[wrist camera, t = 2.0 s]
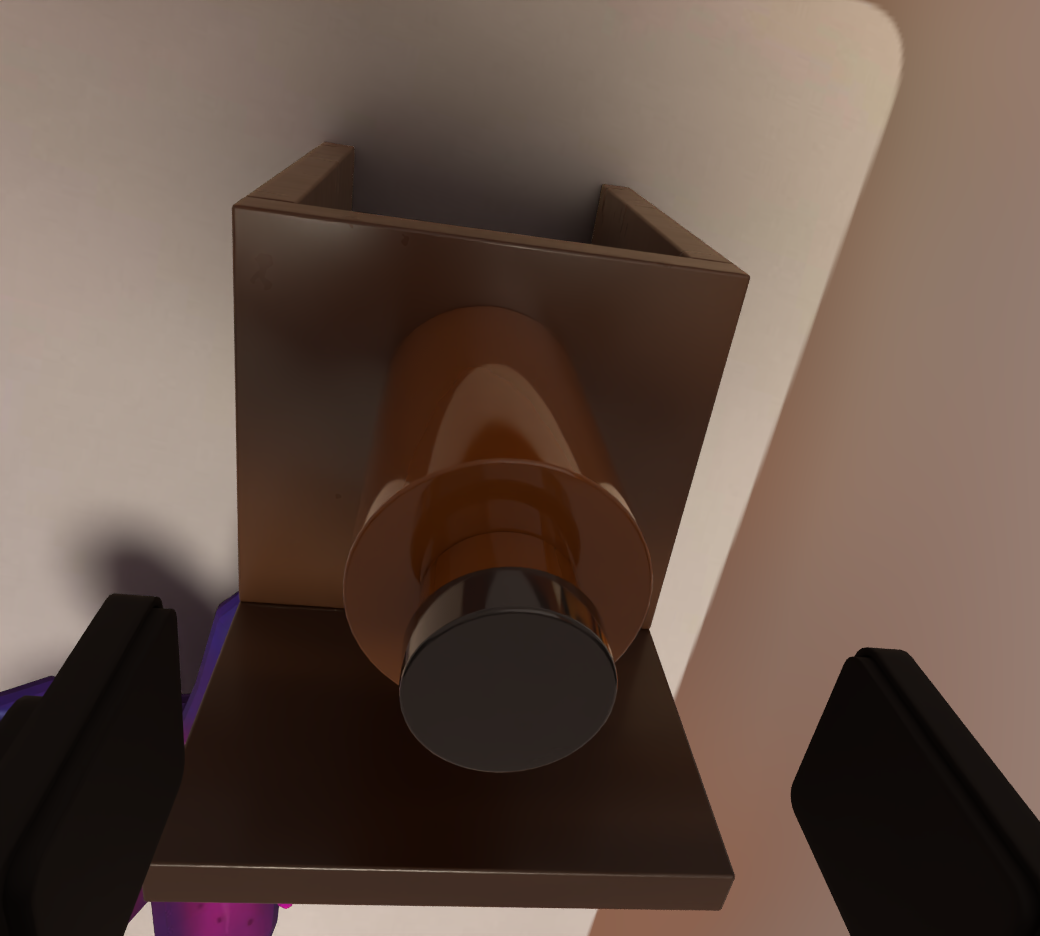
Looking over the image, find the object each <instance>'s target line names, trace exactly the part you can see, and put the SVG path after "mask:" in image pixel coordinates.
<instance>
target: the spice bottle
mask: <svg viewBox="0 0 1040 936" xmlns="http://www.w3.org/2000/svg"><path fill="white" fill-rule="evenodd" d="M652 583H653V571H652V563H651V556H650V553H649V549H648V546H647V542H646V540H645V537H644V535H643V532H642V530H641V527H640V525H639V523H638V520H637V518H636V515H635V513H634V510H633V508H632V505H631V503H630V500H629V498H628V495H627V493H626V491H625V488H624V486H623V483H622V481H621V478H620V476H619V473H618V471H617V468H616V466H615V463H614V461H613V458H612V456H611V454H610V451H609V449H608V446H607V444H606V441H605V439H604V436H603V434H602V431H601V429H600V426H599V424H598V422H597V419H596V417H595V414H594V412H593V409H592V407H591V404H590V402H589V399H588V397H587V394H586V392H585V390H584V387H583V385H582V382H581V380H580V377H579V375H578V372H577V370H576V367H575V365H574V363H573V361H572V359H571V356H570V355H569V353H568V352H567V350H566V348H565V347H564V345H563V344H562V343H561V342H560V341H559V339H558V338H557V337H556V336H555V335H554V334H553V333H552V332H551V331H549V330H548V329H547V328H546V327H545V326H543V325H542V324H540V323H539V322H537V321H536V320H534V319H532V318H530V317H528V316H526V315H524V314H522V313H519V312H516V311H513V310H510V309H506V308H500V307H495V306H470V307H463V308H458V309H454V310H451V311H448V312H445V313H442V314H439V315H437V316H435V317H433V318H431V319H429V320H428V321H426V322H425V323H423V324H422V325H420V326H419V327H417V328H416V329H415V330H414V331H413V332H411V333H410V334H409V335H408V336H407V337H406V338H405V339H404V341H403V342H402V343H401V344H400V345H399V346H398V348H397V350H396V351H395V353H394V354H393V356H392V357H391V360H390V362H389V364H388V366H387V368H386V371H385V375H384V378H383V382H382V387H381V392H380V397H379V402H378V407H377V412H376V417H375V421H374V426H373V431H372V436H371V441H370V446H369V451H368V456H367V461H366V466H365V471H364V476H363V481H362V486H361V490H360V495H359V500H358V505H357V510H356V515H355V520H354V525H353V530H352V535H351V540H350V545H349V550H348V555H347V560H346V564H345V570H344V578H343V603H344V609H345V614H346V618H347V621H348V624H349V626H350V629H351V632H352V634H353V636H354V638H355V639H356V641H357V643H358V645H359V647H360V649H361V650H362V651H363V653H364V654H365V655H366V656H367V658H368V659H369V660H370V662H371V663H372V664H373V665H374V666H375V667H376V668H377V669H378V670H379V671H380V672H381V673H382V674H384V675H385V676H386V677H387V678H389V679H390V680H391V681H393V682H394V683H395V684H397V685H398V686H399V703H400V709H401V712H402V715H403V718H404V720H405V722H406V724H407V726H408V728H409V729H410V731H411V733H412V734H413V735H414V736H415V738H416V739H417V740H418V741H419V742H420V743H421V744H422V745H423V746H424V747H425V748H426V749H428V750H429V751H430V752H432V753H433V754H434V755H436V756H438V757H440V758H441V759H443V760H445V761H447V762H450V763H452V764H455V765H457V766H460V767H464V768H467V769H472V770H477V771H483V772H494V773H508V772H518V771H525V770H530V769H535V768H539V767H542V766H546V765H549V764H551V763H554V762H556V761H559V760H561V759H563V758H565V757H567V756H569V755H571V754H572V753H574V752H575V751H577V750H578V749H580V748H581V747H583V746H584V745H585V744H586V743H587V742H589V741H590V740H591V739H592V738H593V737H594V736H595V735H596V734H597V733H598V732H599V730H600V729H601V728H602V726H603V725H604V724H605V722H606V721H607V719H608V717H609V715H610V713H611V711H612V708H613V705H614V703H615V700H616V694H617V689H618V676H617V670H616V665H615V662H616V661H617V660H618V659H619V658H620V657H621V656H622V655H623V654H624V653H625V652H626V650H627V649H628V647H629V646H630V645H631V643H632V642H633V640H634V639H635V637H636V636H637V634H638V632H639V630H640V628H641V626H642V624H643V622H644V619H645V616H646V614H647V611H648V608H649V604H650V599H651V594H652Z"/></svg>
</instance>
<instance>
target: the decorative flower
mask: <svg viewBox="0 0 1040 936" xmlns="http://www.w3.org/2000/svg"><path fill="white" fill-rule="evenodd" d="M239 602H240V600H239V591H238V592H237V593H235V594H234V595H232V596H231V597H229V598H228V599H227V600H225V601H224V602H222V603H221V604H219V606H218V609H217V611H216V614H215V618H214V621H213V624H212V628H211V631H210V635H209V638H208V642H207V645H206V648H205V652H204V655H203V659H202V662H201V666H200V669H199V672H198V676H197V679H196V683H195V685H194V687H193V690H192V692H191V694H181V697H182V714H183V730H184V746H185V743H186V740H187V738H188V735H189V732H190V730H191V727H192V725H193V722H194V719H195V717H196V714H197V712H198V709H199V706H200V704H201V701H202V699H203V696H204V693H205V691H206V688H207V685H208V683H209V680H210V678H211V675H212V672H213V670H214V667H215V665H216V662H217V659H218V657H219V654H220V651H221V649H222V646H223V644H224V641H225V638H226V636H227V633H228V631H229V628H230V625H231V623H232V620H233V618H234V615H235V612H236V610H237V607H238V604H239ZM54 678H55V677H54V676H48V677H45V678H42V679H39V680H36V681H33V682H30V683H27V684H24V685H21V686H18V687H15V688H12V689H8V690H5V691H2V692H0V721H1V719H2V718H3V716H4V715H5V714H6V712H7V711H8V709H9V708H10V707H11V706H12V705H13V704H14V702H15V701H16V700H18V699H19V698H21V697H23V696H24V695H29V696H43V695H44V694H45V692H46V691H47V689H48V687H49V686H50V684H51V683H52V681H53V680H54ZM146 903H147V901H144V898H143V889H142V888H141V891H140V893H139V896H138V899H137V901H136V904H135V906H134V909H133V912H132V914H131V917H130V920H129V922H130V921H131V920H132V919H133V917H134V916H135V915H136V914H137V913H138V912H139V911H140V910H141V909H142V908H143V906H144V905H145V904H146ZM151 906H152V915H153V924H154V933H155V936H272V933H273V931H274V928H275V926H276V923H277V919H278V910H279V906H280V907H282V908H285V909H287V908H289V907H291V906H292V904H265V903H201V902H151ZM129 922H128V923H129Z"/></svg>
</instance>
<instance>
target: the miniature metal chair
mask: <svg viewBox="0 0 1040 936" xmlns="http://www.w3.org/2000/svg"><path fill="white" fill-rule="evenodd" d="M354 155H355V148H354V147H353V146H348V145H342V144H335V143H328V142H323V143H322V144H320V145H319V146H318V147H316V148H315V149H313V150H312V151H310V152H309V153H307V154H306V155H305V156H303V157H302V158H300V159H299V160H297V161H296V162H295V163H293V164H292V165H290V166H289V167H287V168H286V169H284V170H283V171H282V172H280V173H279V174H277V175H276V176H274V177H273V178H272V179H270V180H269V181H267V182H266V183H264V184H263V185H261V186H260V187H259V188H257V189H256V190H254V191H253V192H251V193H250V194H249V195H247V196H246V197H244V198H242V199H241V200H240V201H238V202H237V203H235V204H234V205H233V206H232V237H233V292H234V348H235V403H236V459H237V514H238V570H239V600H240V602H239V604H238V607H237V610H236V612H235V615H234V618H233V620H232V623H231V625H230V628H229V631H228V633H227V636H226V638H225V641H224V644H223V646H222V649H221V651H220V654H219V657H218V659H217V662H216V665H215V667H214V670H213V672H212V675H211V678H210V680H209V683H208V685H207V688H206V691H205V693H204V696H203V699H202V701H201V704H200V706H199V709H198V712H197V714H196V717H195V719H194V722H193V725H192V727H191V730H190V732H189V735H188V738H187V740H186V743H185V746H184V747H185V765H184V772H183V777H182V781H181V785H180V788H179V790H178V793H177V796H176V798H175V801H174V804H173V806H172V809H171V811H170V814H169V817H168V819H167V822H166V825H165V827H164V830H163V833H162V835H161V838H160V841H159V843H158V846H157V848H156V851H155V854H154V856H153V859H152V862H151V864H150V867H149V870H148V872H147V875H146V877H145V880H144V883H143V885H142V889H143V898H144V901H147V902H201V903H265V904H329V905H394V906H458V907H522V908H586V909H651V910H714V911H716V910H717V911H718V910H721V909H722V906H723V904H724V902H725V900H726V897H727V895H728V893H729V890H730V888H731V886H732V883H733V881H734V879H735V875H734V872H733V869H732V866H731V863H730V860H729V857H728V855H727V852H726V849H725V846H724V843H723V840H722V837H721V834H720V831H719V829H718V826H717V823H716V820H715V817H714V814H713V811H712V809H711V806H710V803H709V800H708V797H707V795H706V791H705V788H704V786H703V783H702V780H701V777H700V774H699V771H698V768H697V766H696V763H695V760H694V757H693V754H692V751H691V748H690V745H689V743H688V740H687V737H686V734H685V731H684V729H683V725H682V723H681V720H680V717H679V714H678V711H677V708H676V705H675V702H674V700H673V697H672V694H671V691H670V688H669V685H668V682H667V679H666V677H665V674H664V671H663V668H662V665H661V662H660V659H659V657H658V654H657V651H656V648H655V645H654V642H653V639H652V636H651V634H650V631H649V628H650V627H651V623H652V620H653V616H654V613H655V609H656V606H657V602H658V599H659V595H660V592H661V588H662V585H663V581H664V578H665V574H666V571H667V567H668V564H669V560H670V557H671V553H672V550H673V546H674V543H675V539H676V536H677V532H678V529H679V525H680V522H681V518H682V515H683V511H684V508H685V504H686V501H687V497H688V494H689V490H690V487H691V483H692V480H693V476H694V473H695V469H696V466H697V462H698V459H699V455H700V452H701V448H702V445H703V441H704V438H705V434H706V431H707V427H708V424H709V420H710V417H711V413H712V410H713V406H714V403H715V399H716V396H717V392H718V389H719V385H720V382H721V378H722V375H723V371H724V368H725V364H726V361H727V357H728V354H729V350H730V347H731V343H732V340H733V336H734V333H735V329H736V326H737V322H738V319H739V315H740V312H741V308H742V305H743V301H744V298H745V294H746V291H747V287H748V284H749V280H750V276H749V275H748V274H747V273H745V272H744V271H743V270H741V269H740V268H738V267H737V266H736V265H734V264H733V263H731V262H730V261H729V260H727V259H726V258H725V257H723V256H722V255H720V254H719V253H718V252H716V251H715V250H714V249H712V248H711V247H710V246H708V245H707V244H705V243H704V242H703V241H701V240H700V239H699V238H697V237H696V236H695V235H693V234H692V233H690V232H689V231H688V230H686V229H685V228H684V227H682V226H681V225H680V224H678V223H677V222H675V221H674V220H673V219H671V218H670V217H669V216H667V215H666V214H665V213H663V212H662V211H660V210H659V209H658V208H656V207H655V206H654V205H652V204H651V203H650V202H648V201H647V200H645V199H644V198H643V197H641V196H640V195H639V194H637V193H636V192H635V191H633V190H632V189H630V188H627V187H621V186H614V185H608V184H603V185H602V188H601V194H600V199H599V204H598V209H597V215H596V220H595V225H594V231H593V236H592V241H591V244H584V243H577V242H570V241H563V240H556V239H548V238H541V237H534V236H527V235H520V234H512V233H505V232H498V231H491V230H484V229H476V228H469V227H462V226H455V225H448V224H440V223H433V222H426V221H419V220H412V219H404V218H397V217H390V216H383V215H376V214H368V213H361V212H354V211H352V196H353V176H354ZM470 306H495V307H500V308H506V309H510V310H513V311H516V312H519V313H522V314H524V315H526V316H528V317H530V318H532V319H534V320H536V321H537V322H539V323H540V324H542V325H543V326H545V327H546V328H547V329H548V330H549V331H551V332H552V333H553V334H554V335H555V336H556V337H557V338H558V339H559V341H560V342H561V343H562V344H563V345H564V347H565V348H566V350H567V352H568V353H569V355H570V356H571V359H572V361H573V363H574V365H575V367H576V370H577V372H578V375H579V377H580V380H581V382H582V385H583V387H584V390H585V392H586V394H587V397H588V399H589V402H590V404H591V407H592V409H593V412H594V414H595V417H596V419H597V422H598V424H599V426H600V429H601V431H602V434H603V436H604V439H605V441H606V444H607V446H608V449H609V451H610V454H611V456H612V458H613V461H614V463H615V466H616V468H617V471H618V473H619V476H620V478H621V481H622V483H623V486H624V488H625V491H626V493H627V495H628V498H629V500H630V503H631V505H632V508H633V510H634V513H635V515H636V518H637V520H638V523H639V525H640V527H641V530H642V532H643V535H644V537H645V540H646V542H647V546H648V549H649V553H650V556H651V563H652V571H653V583H652V594H651V599H650V604H649V608H648V611H647V614H646V616H645V619H644V622H643V624H642V626H641V628H640V630H639V632H638V634H637V636H636V637H635V639H634V640H633V642H632V643H631V645H630V646H629V647H628V649H627V650H626V652H625V653H624V654H623V655H622V656H621V657H620V658H619V659H618V660H617V661H616V662H615V665H616V670H617V676H618V689H617V694H616V700H615V703H614V705H613V708H612V711H611V713H610V715H609V717H608V719H607V721H606V722H605V724H604V725H603V726H602V728H601V729H600V730H599V732H598V733H597V734H596V735H595V736H594V737H593V738H592V739H591V740H590V741H589V742H587V743H586V744H585V745H584V746H583V747H581V748H580V749H578V750H577V751H575V752H574V753H572V754H571V755H569V756H567V757H565V758H563V759H561V760H559V761H556V762H554V763H551V764H549V765H546V766H542V767H539V768H535V769H530V770H525V771H518V772H508V773H494V772H483V771H477V770H472V769H467V768H464V767H460V766H457V765H455V764H452V763H450V762H447V761H445V760H443V759H441V758H440V757H438V756H436V755H434V754H433V753H432V752H430V751H429V750H428V749H426V748H425V747H424V746H423V745H422V744H421V743H420V742H419V741H418V740H417V739H416V738H415V736H414V735H413V734H412V733H411V731H410V729H409V728H408V726H407V724H406V722H405V720H404V718H403V715H402V712H401V709H400V703H399V686H398V685H397V684H395V683H394V682H393V681H391V680H390V679H389V678H387V677H386V676H385V675H384V674H382V673H381V672H380V671H379V670H378V669H377V668H376V667H375V666H374V665H373V664H372V663H371V662H370V660H369V659H368V658H367V656H366V655H365V654H364V653H363V651H362V650H361V649H360V647H359V645H358V643H357V641H356V639H355V638H354V636H353V634H352V632H351V629H350V626H349V624H348V621H347V618H346V614H345V609H344V603H343V578H344V570H345V564H346V560H347V555H348V550H349V545H350V540H351V535H352V530H353V525H354V520H355V515H356V510H357V505H358V500H359V495H360V490H361V486H362V481H363V476H364V471H365V466H366V461H367V456H368V451H369V446H370V441H371V436H372V431H373V426H374V421H375V417H376V412H377V407H378V402H379V397H380V392H381V387H382V382H383V378H384V375H385V371H386V368H387V366H388V364H389V362H390V360H391V357H392V356H393V354H394V353H395V351H396V350H397V348H398V346H399V345H400V344H401V343H402V342H403V341H404V339H405V338H406V337H407V336H408V335H409V334H410V333H411V332H413V331H414V330H415V329H416V328H417V327H419V326H420V325H422V324H423V323H425V322H426V321H428V320H429V319H431V318H433V317H435V316H437V315H439V314H442V313H445V312H448V311H451V310H454V309H458V308H463V307H470Z"/></svg>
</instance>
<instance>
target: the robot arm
mask: <svg viewBox="0 0 1040 936" xmlns="http://www.w3.org/2000/svg"><path fill="white" fill-rule="evenodd" d="M184 765H185V747H184V730H183V714H182V697H181V680H180V663H179V646H178V629H177V616H176V612H175V610H173V609H164V608H163V605H162V601H161V599H160V598H159V597H155V596H141V595H127V594H111V595H109V597H108V598H107V599H106V600H105V602H104V603H103V605H102V606H101V608H100V609H99V611H98V612H97V614H96V615H95V617H94V618H93V620H92V621H91V623H90V625H89V626H88V628H87V629H86V631H85V632H84V634H83V635H82V637H81V638H80V640H79V641H78V643H77V645H76V646H75V648H74V649H73V651H72V652H71V654H70V655H69V657H68V658H67V660H66V661H65V663H64V664H63V666H62V668H61V669H60V671H59V672H58V674H57V675H56V677H55V678H54V680H53V681H52V683H51V684H50V686H49V687H48V689H47V691H46V692H45V694H44V695H43V696H29V695H24V696H23V697H21V698H19V699H18V700H16V701H15V702H14V704H13V705H12V706H11V707H10V708H9V709H8V711H7V712H6V714H5V715H4V716H3V718H2V719H1V721H0V936H123V935H124V933H125V930H126V928H127V925H128V922H129V920H130V917H131V914H132V912H133V909H134V906H135V904H136V901H137V899H138V896H139V893H140V891H141V888H142V885H143V883H144V880H145V877H146V875H147V872H148V870H149V867H150V864H151V862H152V859H153V856H154V854H155V851H156V848H157V846H158V843H159V841H160V838H161V835H162V833H163V830H164V827H165V825H166V822H167V819H168V817H169V814H170V811H171V809H172V806H173V804H174V801H175V798H176V796H177V793H178V790H179V788H180V785H181V781H182V777H183V772H184ZM791 803H792V808H793V810H794V813H795V815H796V817H797V820H798V822H799V824H800V826H801V828H802V830H803V833H804V835H805V837H806V839H807V842H808V844H809V846H810V848H811V850H812V853H813V855H814V857H815V859H816V861H817V863H818V866H819V868H820V870H821V872H822V874H823V877H824V879H825V881H826V883H827V885H828V887H829V889H830V892H831V894H832V896H833V898H834V901H835V903H836V905H837V907H838V909H839V911H840V914H841V916H842V918H843V920H844V922H845V925H846V927H847V929H848V931H849V933H850V936H1040V821H1039V820H1038V819H1037V818H1036V816H1035V815H1034V814H1033V812H1032V811H1031V810H1030V809H1029V807H1028V806H1027V805H1026V803H1025V802H1024V801H1023V800H1022V798H1021V797H1020V796H1019V794H1018V793H1017V792H1016V791H1015V789H1014V788H1013V787H1012V785H1011V784H1010V783H1009V782H1008V781H1007V779H1006V778H1005V776H1004V775H1003V774H1002V773H1001V771H1000V770H999V769H998V767H997V766H996V765H995V763H993V761H992V760H991V758H990V757H989V756H988V755H987V753H986V752H985V751H984V749H983V748H982V747H981V746H980V744H979V743H978V742H977V740H976V739H975V738H974V736H973V735H972V734H971V733H970V731H969V730H968V729H967V727H966V726H965V725H964V724H963V722H962V721H961V720H960V718H959V717H958V716H957V715H956V713H955V712H954V711H953V710H952V708H951V707H950V706H949V704H948V703H947V702H946V701H945V699H944V698H943V697H942V695H941V694H940V693H939V691H938V690H937V689H936V688H935V686H934V685H933V684H932V683H931V681H930V680H929V679H928V677H927V676H926V675H925V674H924V672H923V671H922V670H921V668H920V667H919V666H918V665H917V663H916V662H915V661H914V659H913V658H912V657H911V656H910V655H909V654H908V653H907V652H905V651H902V650H896V649H882V648H868V647H867V648H862V649H860V650H859V651H858V652H857V653H856V655H855V656H854V657H849V658H848V659H847V660H846V662H845V663H844V665H843V668H842V670H841V673H840V674H839V677H838V679H837V682H836V684H835V686H834V689H833V691H832V693H831V696H830V698H829V700H828V702H827V705H826V707H825V710H824V712H823V714H822V716H821V719H820V721H819V723H818V726H817V728H816V730H815V733H814V735H813V737H812V740H811V742H810V744H809V747H808V749H807V751H806V753H805V756H804V758H803V760H802V763H801V765H800V767H799V770H798V772H797V774H796V777H795V779H794V781H793V784H792V787H791Z"/></svg>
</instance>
